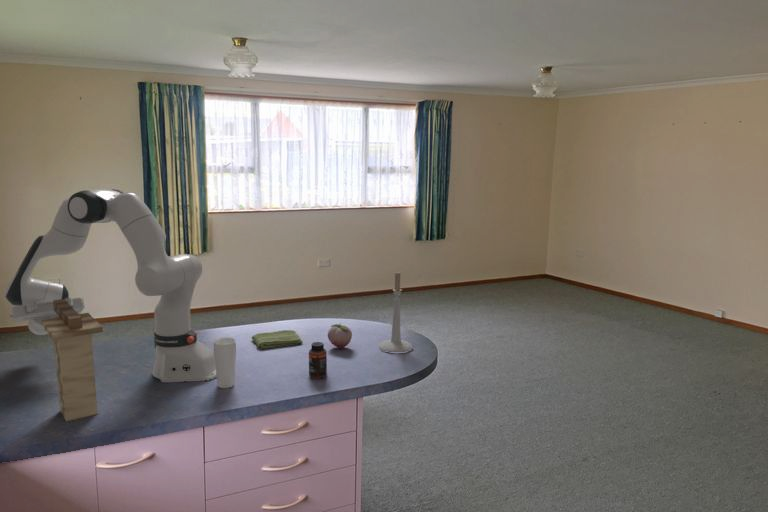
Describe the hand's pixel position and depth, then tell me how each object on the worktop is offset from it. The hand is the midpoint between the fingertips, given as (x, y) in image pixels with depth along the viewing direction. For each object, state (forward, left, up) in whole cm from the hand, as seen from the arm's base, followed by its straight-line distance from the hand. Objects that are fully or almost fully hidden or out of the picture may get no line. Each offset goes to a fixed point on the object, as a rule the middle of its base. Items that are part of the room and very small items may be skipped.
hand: (51, 302), depth 183 cm
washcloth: (-62, -41, -26) cm, 79 cm away
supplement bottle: (-82, -9, -26) cm, 87 cm away
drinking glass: (-54, +1, -26) cm, 60 cm away
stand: (-18, +22, -26) cm, 38 cm away
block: (-15, +18, +1) cm, 23 cm away
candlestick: (-108, -38, -26) cm, 118 cm away
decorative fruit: (-87, -36, -26) cm, 98 cm away
